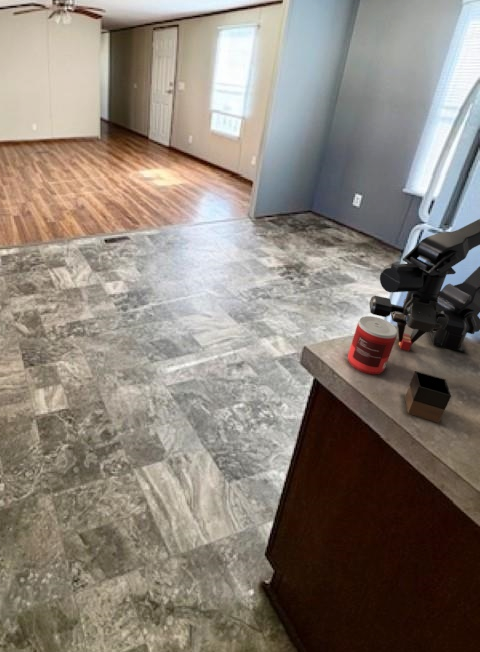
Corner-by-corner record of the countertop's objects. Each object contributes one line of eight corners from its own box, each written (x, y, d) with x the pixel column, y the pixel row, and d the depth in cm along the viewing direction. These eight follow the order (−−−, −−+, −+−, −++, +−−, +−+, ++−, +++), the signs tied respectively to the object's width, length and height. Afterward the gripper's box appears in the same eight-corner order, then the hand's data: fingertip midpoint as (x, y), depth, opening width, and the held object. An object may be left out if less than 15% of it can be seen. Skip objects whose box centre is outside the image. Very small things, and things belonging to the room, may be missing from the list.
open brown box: (409, 384, 89) (414, 371, 88) (439, 393, 87) (445, 379, 86) (413, 400, 85) (418, 386, 84) (444, 410, 83) (451, 395, 81)
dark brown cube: (404, 397, 91) (409, 384, 89) (434, 406, 88) (439, 393, 87) (407, 413, 86) (413, 400, 85) (438, 423, 84) (444, 410, 83)
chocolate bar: (398, 340, 109) (401, 332, 108) (406, 342, 108) (409, 334, 107) (400, 348, 106) (403, 340, 105) (409, 351, 105) (412, 343, 104)
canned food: (373, 354, 104) (386, 316, 99) (391, 376, 96) (405, 337, 92) (341, 352, 104) (352, 314, 100) (356, 374, 97) (369, 334, 93)
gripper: (381, 294, 98) (363, 348, 104) (483, 316, 90) (457, 373, 96) (378, 274, 107) (361, 325, 113) (470, 292, 99) (447, 347, 105)
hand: (404, 342), depth 107 cm, fingers closed on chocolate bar, 2 cm apart
